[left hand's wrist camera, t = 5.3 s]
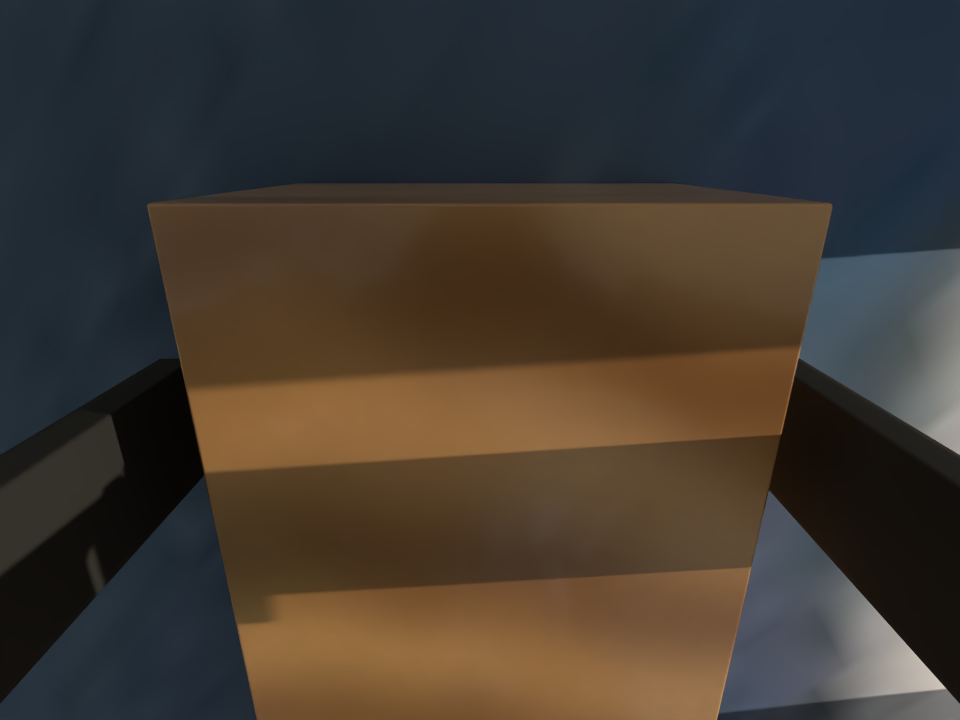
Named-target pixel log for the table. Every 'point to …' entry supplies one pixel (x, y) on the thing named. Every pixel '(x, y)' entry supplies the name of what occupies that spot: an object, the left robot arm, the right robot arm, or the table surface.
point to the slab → (488, 435)
